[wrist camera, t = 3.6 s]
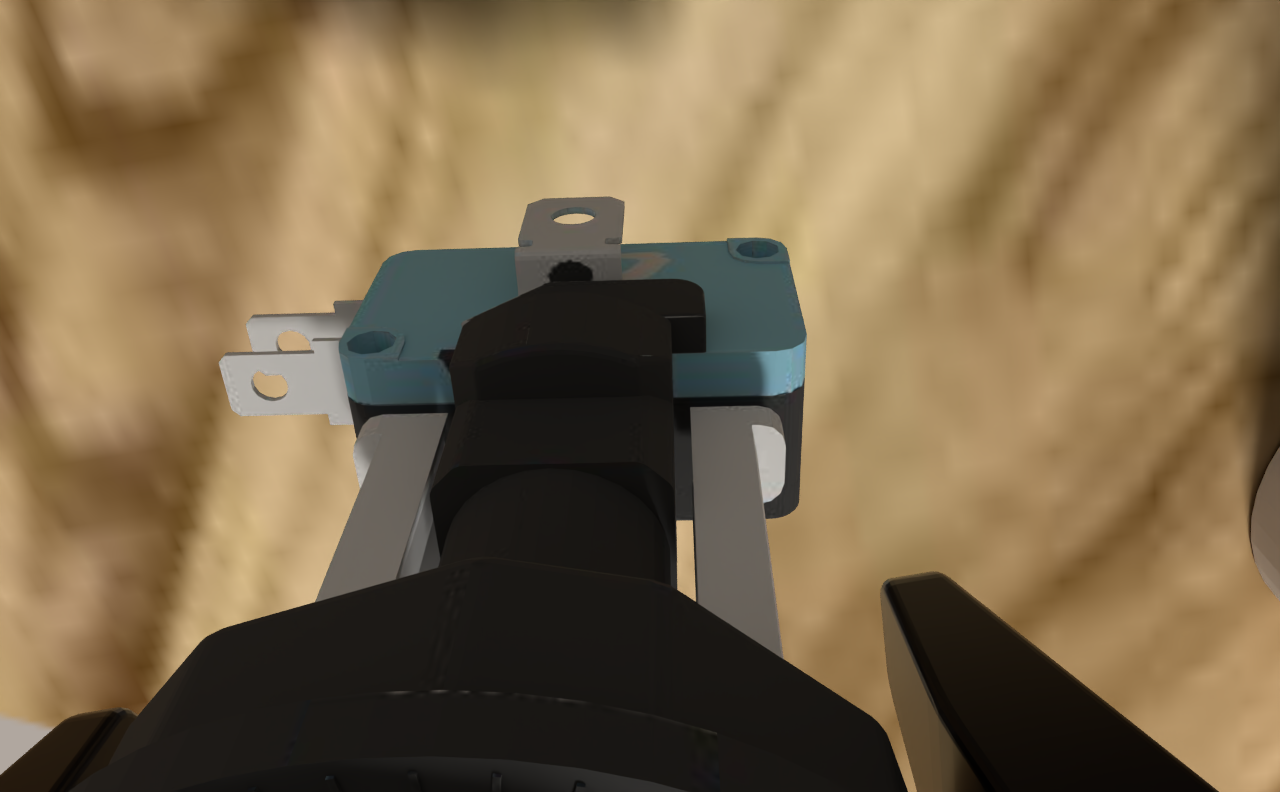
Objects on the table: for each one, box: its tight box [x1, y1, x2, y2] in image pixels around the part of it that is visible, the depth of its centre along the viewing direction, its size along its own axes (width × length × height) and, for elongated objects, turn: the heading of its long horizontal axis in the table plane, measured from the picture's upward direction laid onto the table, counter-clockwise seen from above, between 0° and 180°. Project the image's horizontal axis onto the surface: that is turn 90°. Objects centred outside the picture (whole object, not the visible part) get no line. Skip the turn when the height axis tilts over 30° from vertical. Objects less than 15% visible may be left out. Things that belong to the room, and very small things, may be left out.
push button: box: [68, 197, 908, 792], centre depth 9 cm, size 7×5×10 cm
